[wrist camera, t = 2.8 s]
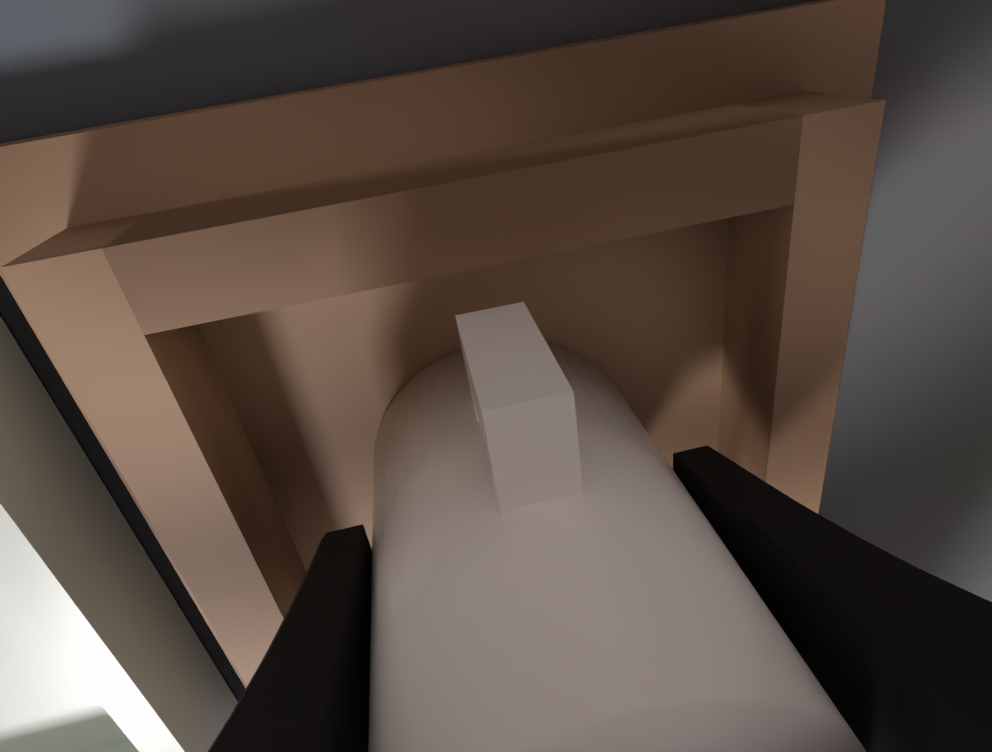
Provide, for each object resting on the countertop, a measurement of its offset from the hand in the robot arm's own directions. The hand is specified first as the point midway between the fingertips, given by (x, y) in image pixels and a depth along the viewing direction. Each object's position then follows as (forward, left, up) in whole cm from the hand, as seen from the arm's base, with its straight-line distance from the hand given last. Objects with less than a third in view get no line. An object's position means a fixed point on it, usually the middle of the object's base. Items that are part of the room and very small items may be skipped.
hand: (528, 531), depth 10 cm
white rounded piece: (0, 0, -2) cm, 2 cm away
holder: (0, 0, -3) cm, 3 cm away
